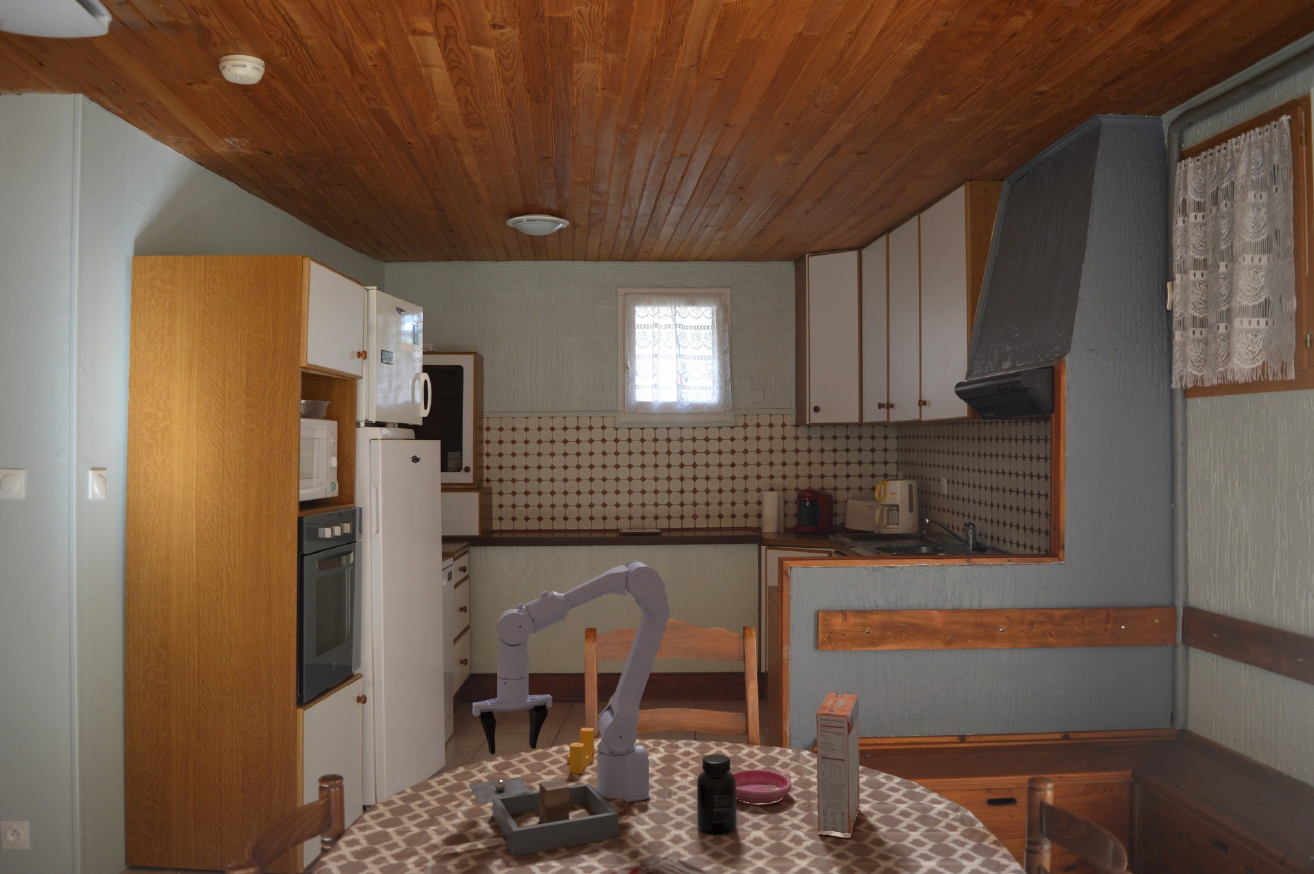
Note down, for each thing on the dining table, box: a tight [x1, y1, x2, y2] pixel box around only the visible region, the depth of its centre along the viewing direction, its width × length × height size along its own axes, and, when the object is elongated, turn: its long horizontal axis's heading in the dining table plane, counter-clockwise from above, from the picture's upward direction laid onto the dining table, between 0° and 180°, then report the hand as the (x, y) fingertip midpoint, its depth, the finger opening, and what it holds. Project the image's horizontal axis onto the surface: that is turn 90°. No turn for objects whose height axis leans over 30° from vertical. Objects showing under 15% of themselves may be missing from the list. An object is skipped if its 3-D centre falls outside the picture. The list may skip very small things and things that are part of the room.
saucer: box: [731, 769, 793, 803], centre depth 168 cm, size 12×12×3 cm
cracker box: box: [815, 692, 861, 834], centre depth 156 cm, size 14×6×21 cm, turn 160°
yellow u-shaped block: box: [566, 727, 595, 775], centre depth 182 cm, size 12×4×6 cm, turn 173°
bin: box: [492, 782, 620, 857], centre depth 152 cm, size 18×15×4 cm
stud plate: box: [468, 776, 531, 805], centre depth 167 cm, size 10×10×3 cm
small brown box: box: [538, 778, 570, 824], centre depth 153 cm, size 4×4×7 cm
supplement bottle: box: [696, 753, 738, 836], centre depth 153 cm, size 7×7×12 cm
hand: (512, 749), depth 163 cm, fingers open, 7 cm apart
